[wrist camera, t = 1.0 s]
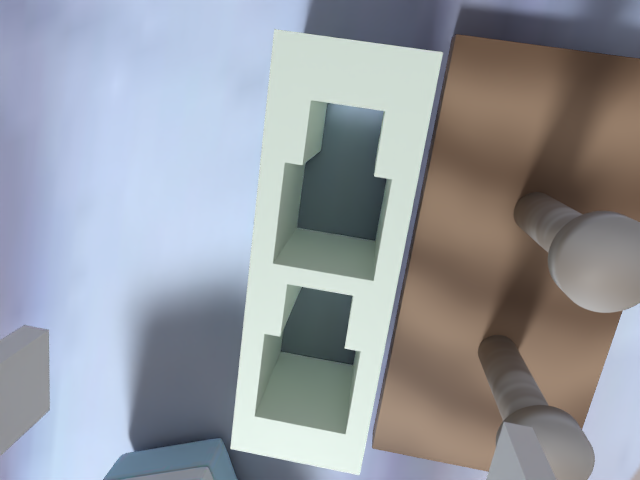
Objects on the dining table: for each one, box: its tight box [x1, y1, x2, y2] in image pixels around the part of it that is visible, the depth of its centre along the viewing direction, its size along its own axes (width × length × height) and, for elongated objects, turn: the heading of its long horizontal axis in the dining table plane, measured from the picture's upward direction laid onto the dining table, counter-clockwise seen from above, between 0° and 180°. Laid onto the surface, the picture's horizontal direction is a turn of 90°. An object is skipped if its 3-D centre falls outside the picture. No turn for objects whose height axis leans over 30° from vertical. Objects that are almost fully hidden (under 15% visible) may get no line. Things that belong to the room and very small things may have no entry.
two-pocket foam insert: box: [230, 29, 443, 475], centre depth 26 cm, size 21×7×7 cm, turn 172°
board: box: [372, 34, 640, 480], centre depth 24 cm, size 25×12×11 cm, turn 172°
